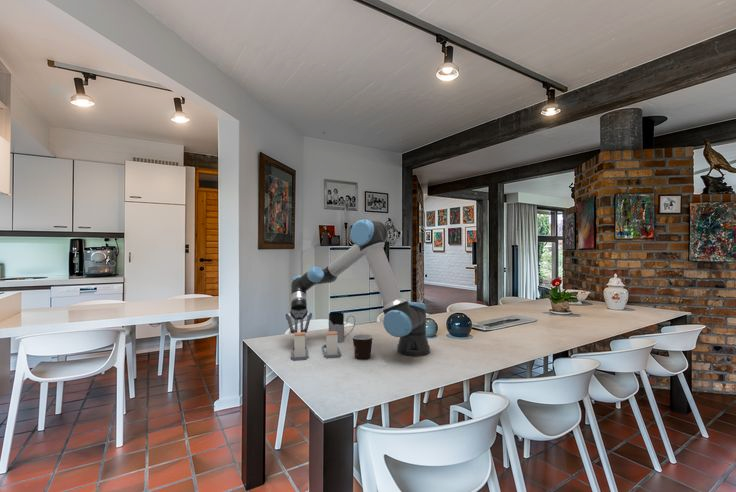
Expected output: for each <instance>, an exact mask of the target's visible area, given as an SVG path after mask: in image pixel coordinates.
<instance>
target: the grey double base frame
mask: <svg viewBox="0 0 736 492" xmlns="http://www.w3.org/2000/svg"><path fill="white" fill-rule="evenodd" d="M325 349H326V343H325V344H323V345H322V346H321V351H322V355H323V358H325V359H340V358H341V357H342V353H341V350H340V348H339V347H338V354H330V355H327V354H326V350H325ZM290 350H291V351H290V360H291V361H292V362H293V361H308V360H307V359H309V358H310V357H309V355H310V354H309V348H308V346H307V345H305V356H298V357H294V345H293V346H292V347H291V348H290Z"/></svg>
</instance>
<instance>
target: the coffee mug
mask: <svg viewBox="0 0 736 492" xmlns="http://www.w3.org/2000/svg"><path fill="white" fill-rule="evenodd" d="M352 342H353V351H354V359H356V360H360V361H366V360H370V359H371V355H372V353H371V352H372V346H373V335H371V334H365V333H364V334H355V335H353V336H352Z"/></svg>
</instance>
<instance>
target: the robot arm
mask: <svg viewBox="0 0 736 492" xmlns="http://www.w3.org/2000/svg"><path fill="white" fill-rule="evenodd" d="M349 237H350V240H351V241H352V243H353V245H352V246H351V247H349V248H348V249H347V250H346V251H344V252H343V253H342V254H341V255H339V256H338V257H337V258H336V259H335V260H334V261H332V262H331V263H329V265H327V266H326V267H324V268H321V267H318V266H313V267H311V268H309V269H308V271H306V272H305V273H303V274H302V275H300V274H297V275H295V276H293V277H292V279H291V284H290V287H291V288H290V289H291V294H290V295H291V296H290V297H291V298H290V300H291V301H290V311H289V312H288V313H286V314H285V319H286V320H287V323H288V327H289V330H290V333H291V334H294V332H298V326H299V325H298V323H299V322H298V321H300V328H299V329H300V332H305V334H306V333H308V330H309V325H310V322H311V319H312V318H313V313H312V312H308V307H307V306H308V304H307V291H308V290H310V289H312V288H313V287H314V286H316V285H317V286H318V285H323V284H331V283H334V282H336V281H337V279H338V277H339V276H340V275H341V274H343V273H344V272H345V271H347V269H349V268H350V267H351V266H352V265H355V263H357V262H358V261H359V260H360V259H362V258H363V257H366V260H367V262H368V265H369V267H370V271H371V273H372V276H373V279H374V280H375V283H376V287H377V289H378V292H379V294H380V297H381V299H382V302H383V305H384V306H383V307H382V312H383V314H384V315H383V316H384V317H383V321H382V323H383V327H384V329H385V331H386V332H387V334H388V335H390V336H392V337H394V338H399V340H398V343H397V346H396V349H397V350H396V351H397V353H399V354H401V355H404V356H409V357H421V356H427V355H429V354H430V353H431V347H430V345H429V341H428V337H427V306H426V304H425V303H424V302H417V301H416V302H415V301H408V300H407V299H406V298H404V297H403V296H402V293H401V291H400V288H399V285H398V282H397V280H396V277H395V276H394V272H393V270H392V267H391V265H390V263H389V260H388V257H387V254H386V253H385V250H384V248H385V247H384V246H385V244H386V241H387V239H388V238H389V230H388V228H387V225H385V224H384V223H383V222H381V221H377V220H370V219H359V220H357V221H356V222H354V223H353V224H352V227H351V229H350V236H349ZM291 318H292V319H293V320H294V327H293V323H292V320H291ZM305 318H306V322H305V325H304V319H305Z"/></svg>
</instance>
